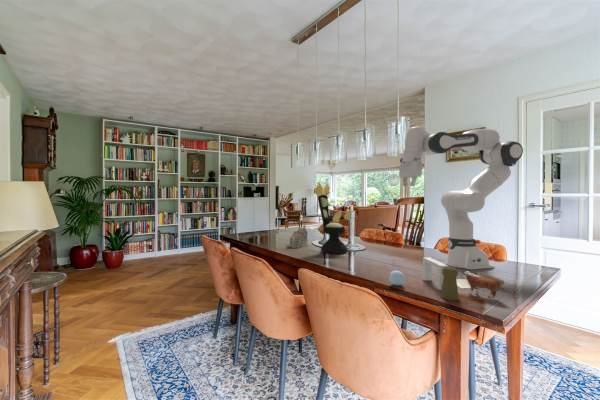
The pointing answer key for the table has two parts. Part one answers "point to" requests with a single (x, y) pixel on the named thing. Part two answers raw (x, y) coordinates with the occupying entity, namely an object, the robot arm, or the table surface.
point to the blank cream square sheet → (463, 284)
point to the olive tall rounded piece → (449, 284)
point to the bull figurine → (481, 284)
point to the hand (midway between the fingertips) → (408, 186)
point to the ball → (396, 278)
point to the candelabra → (331, 228)
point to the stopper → (491, 278)
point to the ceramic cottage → (299, 238)
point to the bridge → (428, 270)
